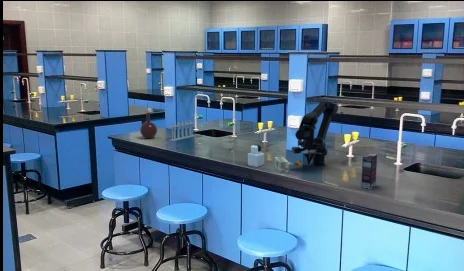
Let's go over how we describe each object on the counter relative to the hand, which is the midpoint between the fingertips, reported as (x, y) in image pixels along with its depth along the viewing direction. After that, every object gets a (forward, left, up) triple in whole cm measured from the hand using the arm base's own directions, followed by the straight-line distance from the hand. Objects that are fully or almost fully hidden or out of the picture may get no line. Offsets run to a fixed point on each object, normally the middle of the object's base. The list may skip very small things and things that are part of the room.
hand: (308, 164), depth 238 cm
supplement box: (-18, +37, -3) cm, 41 cm away
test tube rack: (+68, -104, -3) cm, 124 cm away
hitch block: (+16, 0, -3) cm, 16 cm away
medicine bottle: (+28, -13, -3) cm, 31 cm away
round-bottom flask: (+94, -108, -3) cm, 143 cm away
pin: (+11, 0, -2) cm, 11 cm away
